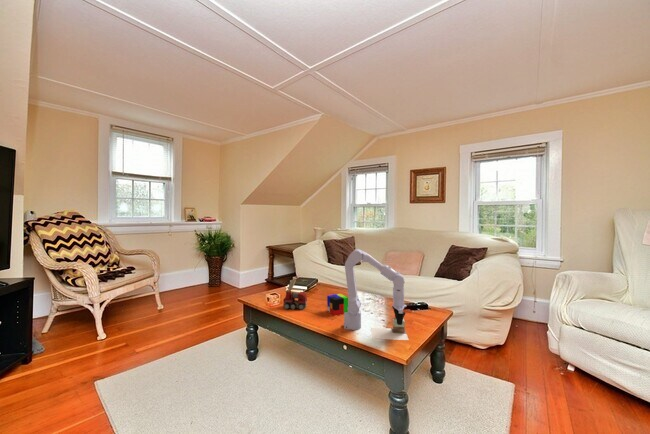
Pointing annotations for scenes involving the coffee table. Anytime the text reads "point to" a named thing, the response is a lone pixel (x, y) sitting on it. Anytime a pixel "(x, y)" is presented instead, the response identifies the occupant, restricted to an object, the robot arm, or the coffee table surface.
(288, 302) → the toy fire truck
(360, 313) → the robot arm
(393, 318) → the sage brick
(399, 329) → the walnut brick
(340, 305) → the puzzle toy
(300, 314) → the coffee table surface
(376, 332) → the board
